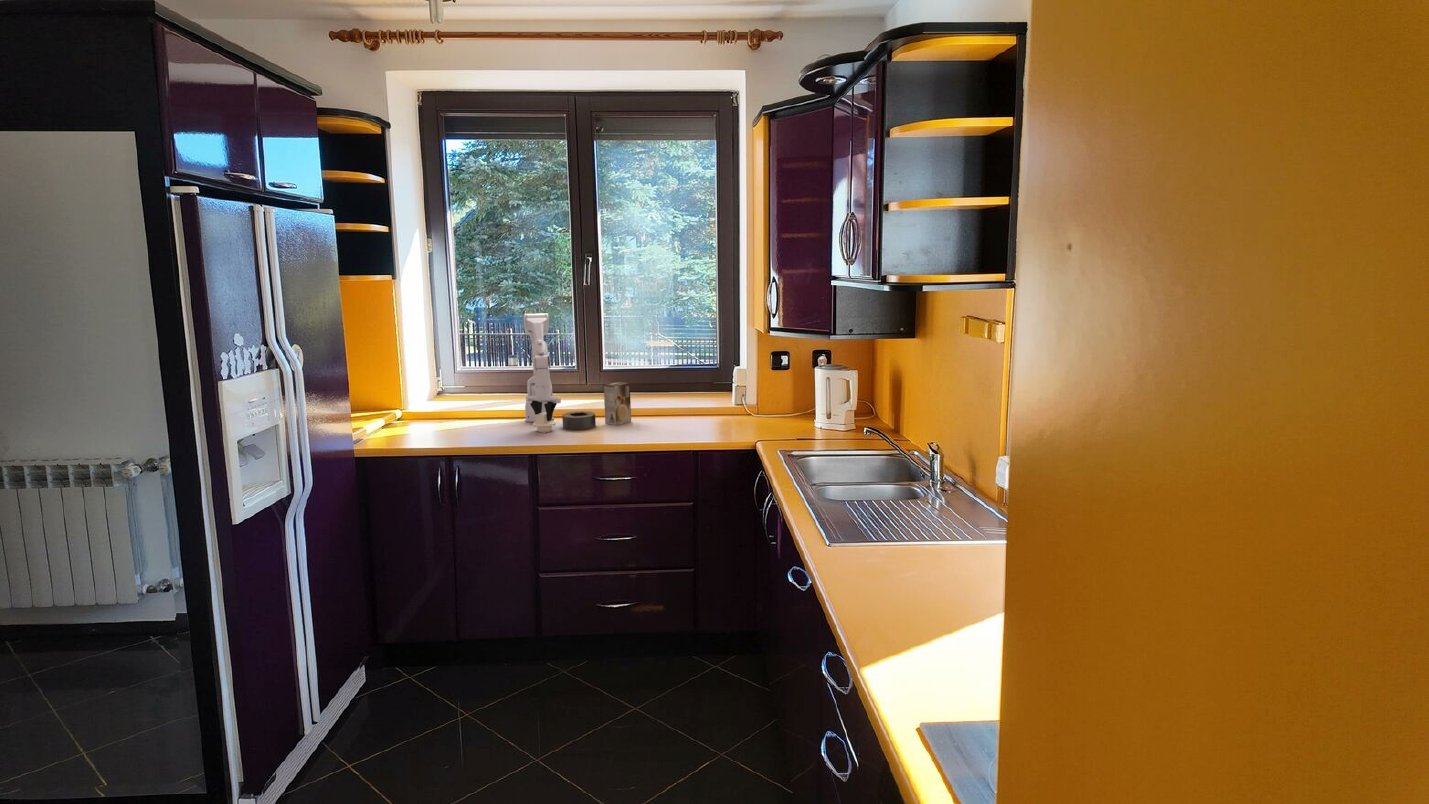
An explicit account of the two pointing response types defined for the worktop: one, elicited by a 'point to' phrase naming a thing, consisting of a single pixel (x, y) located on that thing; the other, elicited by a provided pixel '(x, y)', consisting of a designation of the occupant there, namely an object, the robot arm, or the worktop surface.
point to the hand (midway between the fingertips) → (544, 420)
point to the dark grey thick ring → (579, 420)
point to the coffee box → (617, 403)
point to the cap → (543, 422)
